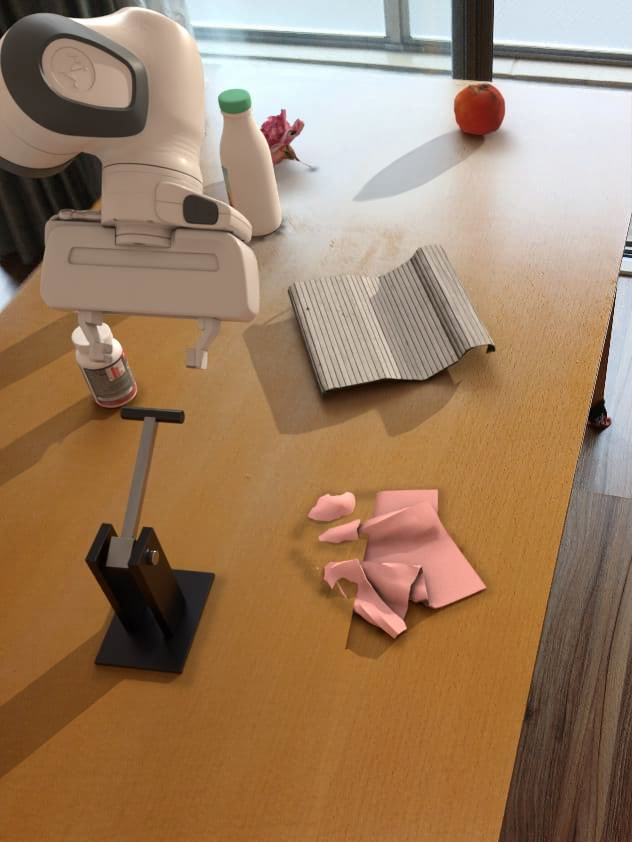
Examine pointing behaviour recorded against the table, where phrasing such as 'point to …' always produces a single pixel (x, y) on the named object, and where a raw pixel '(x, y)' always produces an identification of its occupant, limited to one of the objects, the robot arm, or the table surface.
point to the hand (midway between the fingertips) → (148, 365)
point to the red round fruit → (479, 109)
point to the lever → (138, 480)
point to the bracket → (148, 605)
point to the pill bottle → (105, 371)
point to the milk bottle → (247, 164)
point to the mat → (387, 323)
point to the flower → (281, 137)
